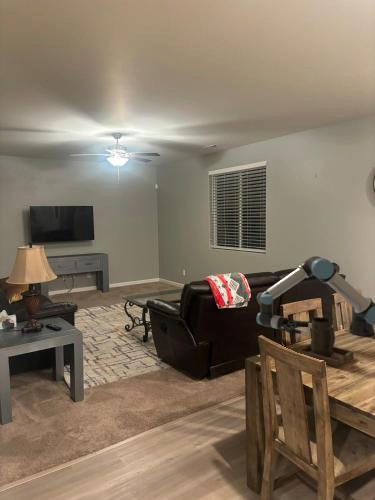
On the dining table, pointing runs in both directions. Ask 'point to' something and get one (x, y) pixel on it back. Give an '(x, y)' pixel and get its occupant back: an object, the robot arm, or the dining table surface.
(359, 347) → the dining table surface
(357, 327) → the robot arm
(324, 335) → the beer stein
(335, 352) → the walnut tray
